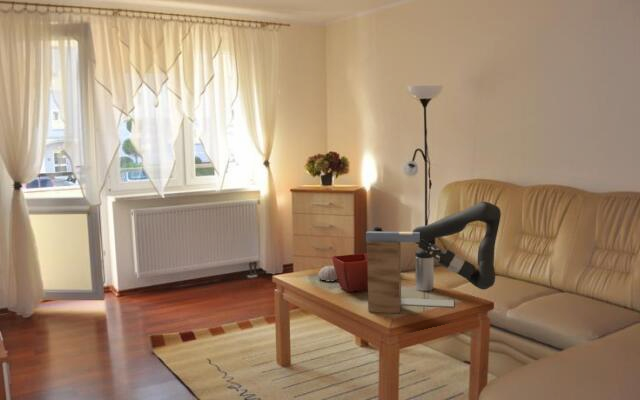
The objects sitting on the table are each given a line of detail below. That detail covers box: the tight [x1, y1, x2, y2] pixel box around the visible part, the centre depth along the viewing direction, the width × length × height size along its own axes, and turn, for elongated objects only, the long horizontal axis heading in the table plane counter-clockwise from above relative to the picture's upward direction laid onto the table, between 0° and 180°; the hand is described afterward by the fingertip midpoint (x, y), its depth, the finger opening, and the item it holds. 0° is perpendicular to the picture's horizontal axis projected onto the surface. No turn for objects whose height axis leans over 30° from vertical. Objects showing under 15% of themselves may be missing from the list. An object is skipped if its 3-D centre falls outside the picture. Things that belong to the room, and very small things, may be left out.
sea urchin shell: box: [317, 265, 338, 281], centre depth 313 cm, size 13×14×8 cm
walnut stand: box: [366, 241, 402, 314], centre depth 252 cm, size 11×14×32 cm
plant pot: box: [331, 253, 368, 293], centre depth 291 cm, size 19×19×17 cm
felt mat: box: [401, 297, 455, 308], centre depth 262 cm, size 10×26×1 cm, turn 76°
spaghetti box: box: [365, 230, 420, 243], centre depth 250 cm, size 4×24×4 cm, turn 76°
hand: (419, 242), depth 247 cm, fingers open, 8 cm apart
